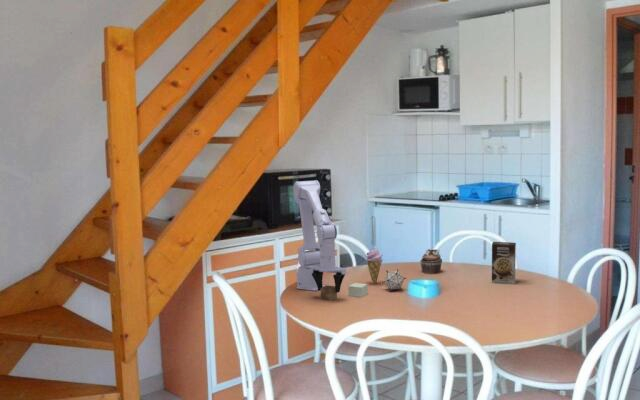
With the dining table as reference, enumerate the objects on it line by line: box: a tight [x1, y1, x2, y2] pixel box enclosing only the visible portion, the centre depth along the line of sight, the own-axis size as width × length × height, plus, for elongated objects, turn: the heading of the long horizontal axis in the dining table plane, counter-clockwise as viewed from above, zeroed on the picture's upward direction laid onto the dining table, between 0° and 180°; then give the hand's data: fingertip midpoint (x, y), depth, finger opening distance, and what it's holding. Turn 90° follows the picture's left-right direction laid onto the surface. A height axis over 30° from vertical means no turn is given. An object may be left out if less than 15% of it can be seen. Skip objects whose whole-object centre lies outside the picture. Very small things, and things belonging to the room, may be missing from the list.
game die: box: [381, 268, 407, 292], centre depth 230 cm, size 9×8×10 cm
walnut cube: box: [320, 284, 338, 301], centre depth 221 cm, size 4×4×4 cm
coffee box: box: [491, 241, 517, 285], centre depth 236 cm, size 9×6×16 cm
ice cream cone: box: [366, 247, 383, 285], centre depth 240 cm, size 7×6×15 cm
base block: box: [347, 282, 369, 298], centre depth 225 cm, size 6×6×4 cm
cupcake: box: [419, 248, 443, 275], centre depth 258 cm, size 10×10×10 cm
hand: (328, 291), depth 221 cm, fingers open, 7 cm apart
